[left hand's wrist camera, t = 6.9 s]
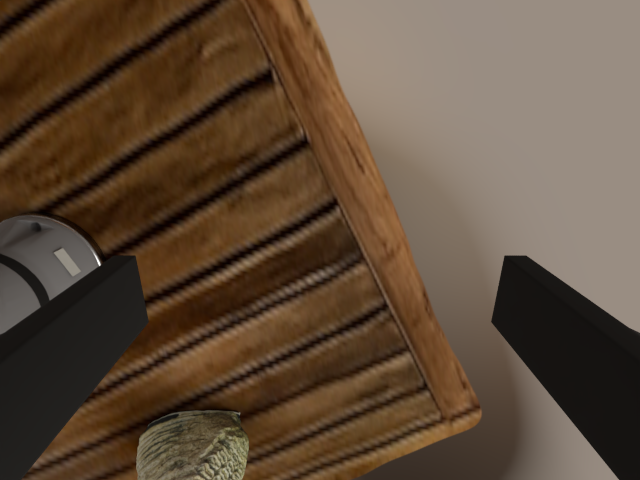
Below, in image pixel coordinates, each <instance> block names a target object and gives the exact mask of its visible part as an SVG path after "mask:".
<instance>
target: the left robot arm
mask: <svg viewBox="0 0 640 480" xmlns="http://www.w3.org/2000/svg"><path fill="white" fill-rule="evenodd" d="M148 322H149V321H148V316H147V311H146V306H145V301H144V296H143V291H142V286H141V281H140V276H139V271H138V266H137V261H136V256H113V257H111V258H110V259H108V260H107V261H106V259H105V257H104V255H103V253H102V251H101V249H100V248H99V246H98V245H97V243H96V242H95V241H94V240H93V239H92V238H91V237H90V236H89V235H88V234H87V233H86V232H85V231H84V230H83V229H81V228H80V227H78V226H77V225H75V224H74V223H72V222H70V221H68V220H66V219H64V218H61V217H59V216H56V215H52V214H47V213H25V214H21V215H18V216H15V217H12V218H9V219H7V220H4V221H2V222H1V223H0V480H21V479H22V478H23V476H24V475H25V474H26V473H27V471H28V470H29V469H30V468H31V467H32V465H33V464H34V463H35V462H36V460H37V459H38V458H39V457H40V455H41V454H42V453H43V452H44V451H45V449H46V448H47V447H48V446H49V444H50V443H51V442H52V441H53V439H54V438H55V437H56V436H57V434H58V433H59V432H60V431H61V430H62V428H63V427H64V426H65V425H66V423H67V422H68V421H69V420H70V418H71V417H72V416H73V415H74V413H75V412H76V411H77V410H78V409H79V407H80V406H81V405H82V404H83V402H84V401H85V400H86V399H87V397H88V396H89V395H90V394H91V393H92V391H93V390H94V389H95V388H96V386H97V385H98V384H99V383H100V381H101V380H102V379H103V378H104V376H105V375H106V374H107V373H108V372H109V370H110V369H111V368H112V367H113V365H114V364H115V363H116V362H117V360H118V359H119V358H120V357H121V356H122V354H123V353H124V352H125V351H126V349H127V348H128V347H129V346H130V344H131V343H132V342H133V341H134V339H135V338H136V337H137V336H138V335H139V333H140V332H141V331H142V330H143V328H144V327H145V326H146V325H147V323H148ZM491 322H492V323H493V325H494V326H495V327H496V328H497V330H498V331H499V332H500V333H501V335H502V336H503V337H504V338H505V339H506V341H507V342H508V343H509V344H510V346H511V347H512V348H513V349H514V351H515V352H516V353H517V354H518V355H519V357H520V358H521V359H522V360H523V362H524V363H525V364H526V365H527V367H528V368H529V369H530V370H531V372H532V373H533V374H534V375H535V376H536V378H537V379H538V380H539V381H540V383H541V384H542V385H543V386H544V388H545V389H546V390H547V391H548V393H549V394H550V395H551V396H552V397H553V399H554V400H555V401H556V402H557V404H558V405H559V406H560V407H561V408H562V410H563V411H564V412H565V413H566V415H567V416H568V417H569V418H570V420H571V421H572V422H573V423H574V425H575V426H576V427H577V428H578V430H579V431H580V432H581V433H582V434H583V436H584V437H585V438H586V439H587V441H588V442H589V443H590V444H591V446H592V447H593V448H594V449H595V451H596V452H597V453H598V454H599V455H600V457H601V458H602V459H603V460H604V462H605V463H606V464H607V465H608V466H609V468H610V469H611V470H612V471H613V473H614V474H615V475H616V476H617V478H618V479H619V480H640V333H639V332H637V331H634V330H632V329H630V328H628V327H627V326H625V325H624V324H623V323H621V322H620V321H618V320H617V319H615V318H614V317H613V316H611V315H610V314H608V313H607V312H606V311H604V310H603V309H601V308H600V307H598V306H597V305H596V304H594V303H593V302H591V301H590V300H588V299H587V298H586V297H584V296H583V295H581V294H580V293H579V292H577V291H576V290H574V289H573V288H571V287H570V286H569V285H567V284H566V283H564V282H563V281H562V280H560V279H559V278H557V277H556V276H554V275H553V274H551V273H550V272H549V271H547V270H546V269H544V268H543V267H542V266H540V265H539V264H537V263H536V262H534V261H533V260H532V259H530V258H529V257H527V256H504V261H503V266H502V271H501V276H500V281H499V286H498V291H497V296H496V301H495V306H494V311H493V316H492V321H491Z"/></svg>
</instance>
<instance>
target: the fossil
mask: <svg viewBox="0 0 640 480" xmlns="http://www.w3.org/2000/svg"><path fill="white" fill-rule="evenodd" d="M239 417H240V413H237V412H233V411H218V410H213V411H212V410H206V411H198V410H195V411H185V412H177V413H172V414H169V415H167V416H164V417H161V418H160V419H158V420H155V421H153V422H152V423H150V424H149V425H148V427H147V429H146V431H145V432H144V433H143V434H142V435H141V436H140V438H139V446H138V454H137V461H136V462H137V466H136V468H137V472H138V480H242V478H243V475H244V471H245V466H246V462H247V455H248V448H249V439H248V436H247V434H246V433H245V432H244V430H243V429H242V427H241V426H240V423H241V422H240V418H239Z"/></svg>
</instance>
